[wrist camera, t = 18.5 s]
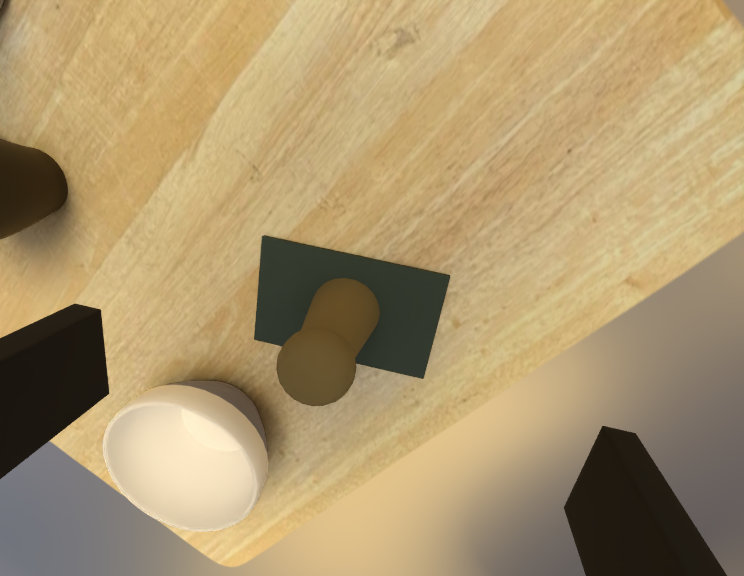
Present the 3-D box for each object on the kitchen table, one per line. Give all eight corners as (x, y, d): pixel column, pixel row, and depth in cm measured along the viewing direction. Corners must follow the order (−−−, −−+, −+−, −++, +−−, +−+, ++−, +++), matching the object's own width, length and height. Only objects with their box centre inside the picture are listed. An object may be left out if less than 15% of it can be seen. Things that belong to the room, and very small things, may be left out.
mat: (450, 275, 33) (450, 276, 33) (423, 376, 37) (423, 379, 37) (263, 235, 35) (261, 236, 34) (255, 337, 38) (253, 339, 38)
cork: (367, 270, 34) (338, 328, 24) (388, 333, 36) (369, 413, 26) (302, 286, 35) (247, 348, 25) (324, 347, 37) (282, 427, 27)
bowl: (150, 444, 45) (97, 501, 38) (162, 333, 40) (103, 376, 33) (273, 487, 45) (243, 553, 38) (303, 382, 39) (274, 436, 32)
